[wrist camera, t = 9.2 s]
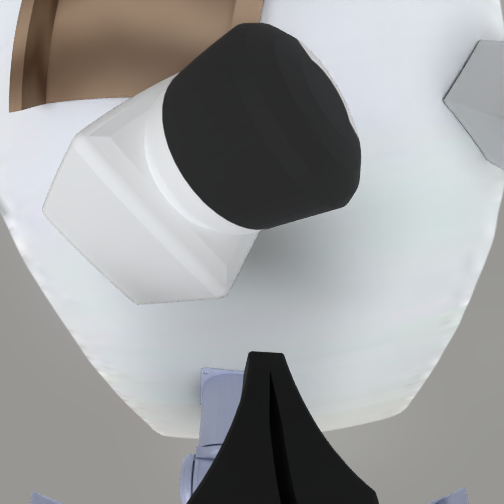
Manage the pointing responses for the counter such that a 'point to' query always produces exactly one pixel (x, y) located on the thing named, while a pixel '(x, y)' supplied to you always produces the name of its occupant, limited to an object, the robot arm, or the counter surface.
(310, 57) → the medicine bottle
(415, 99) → the counter surface
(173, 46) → the wooden tray
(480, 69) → the milk carton
